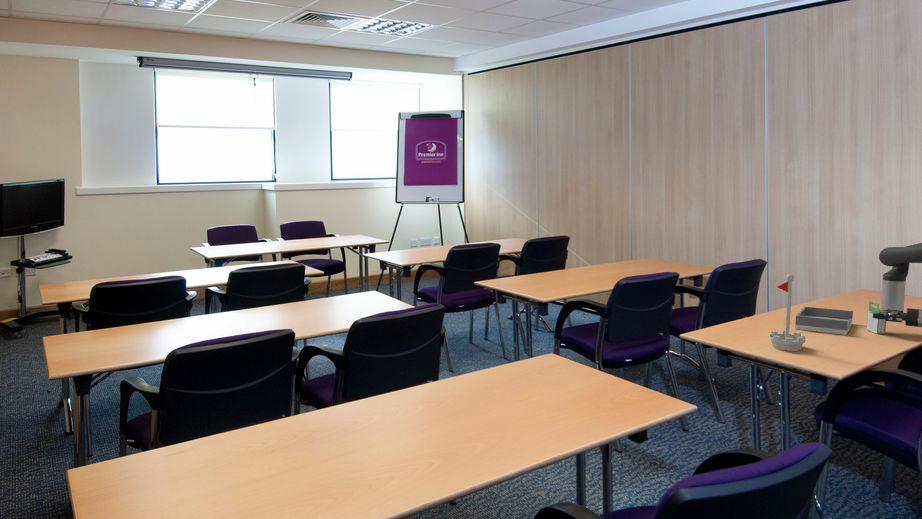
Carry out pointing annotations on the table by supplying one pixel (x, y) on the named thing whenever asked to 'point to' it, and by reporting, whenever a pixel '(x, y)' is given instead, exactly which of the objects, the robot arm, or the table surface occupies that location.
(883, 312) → the ink box
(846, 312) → the tray
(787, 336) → the flag stand
